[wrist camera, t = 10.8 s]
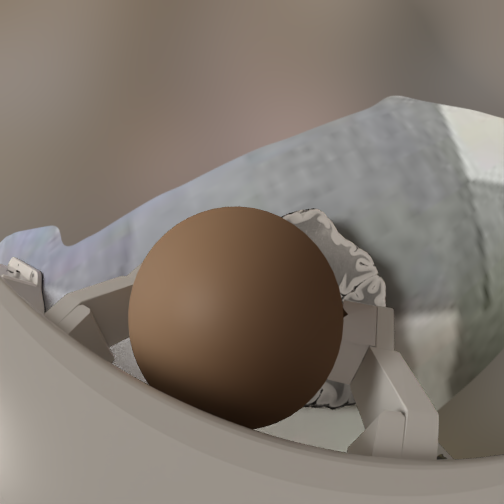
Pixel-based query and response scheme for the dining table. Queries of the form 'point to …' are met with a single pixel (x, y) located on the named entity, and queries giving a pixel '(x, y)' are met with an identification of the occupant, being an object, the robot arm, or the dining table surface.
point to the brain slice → (340, 285)
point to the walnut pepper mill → (236, 316)
